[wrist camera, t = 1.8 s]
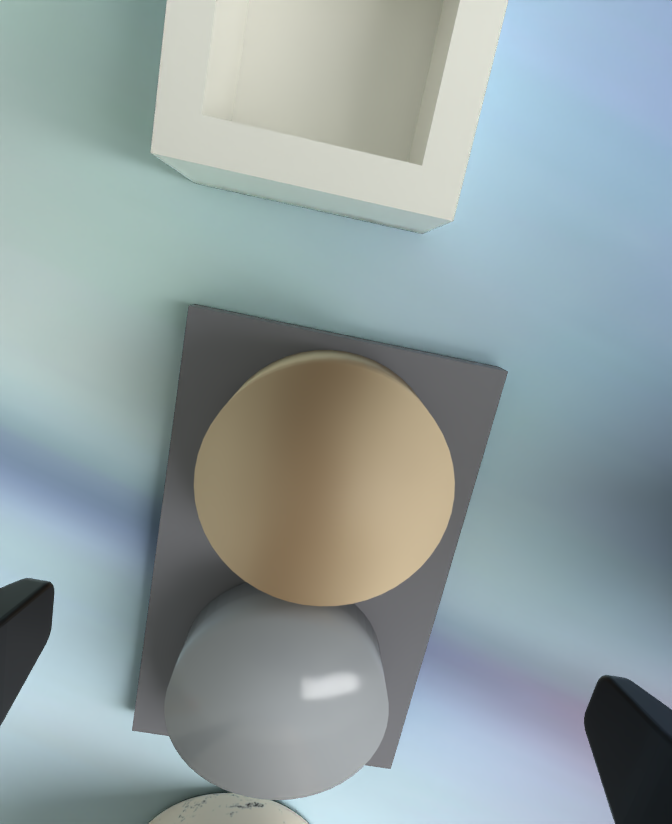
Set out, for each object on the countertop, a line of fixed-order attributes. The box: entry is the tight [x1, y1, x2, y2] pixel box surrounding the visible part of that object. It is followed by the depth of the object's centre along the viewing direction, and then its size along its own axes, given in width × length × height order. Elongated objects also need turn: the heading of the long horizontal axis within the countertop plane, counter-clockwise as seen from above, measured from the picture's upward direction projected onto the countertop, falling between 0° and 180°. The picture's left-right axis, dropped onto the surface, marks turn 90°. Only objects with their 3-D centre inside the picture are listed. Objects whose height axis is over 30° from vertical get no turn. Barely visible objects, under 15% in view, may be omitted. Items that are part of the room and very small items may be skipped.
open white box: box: [151, 0, 508, 234], centre depth 13 cm, size 7×7×4 cm
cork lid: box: [194, 350, 455, 606], centre depth 16 cm, size 7×7×3 cm
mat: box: [132, 304, 508, 769], centre depth 18 cm, size 10×16×1 cm, turn 168°
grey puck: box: [164, 582, 389, 800], centre depth 18 cm, size 7×7×2 cm
